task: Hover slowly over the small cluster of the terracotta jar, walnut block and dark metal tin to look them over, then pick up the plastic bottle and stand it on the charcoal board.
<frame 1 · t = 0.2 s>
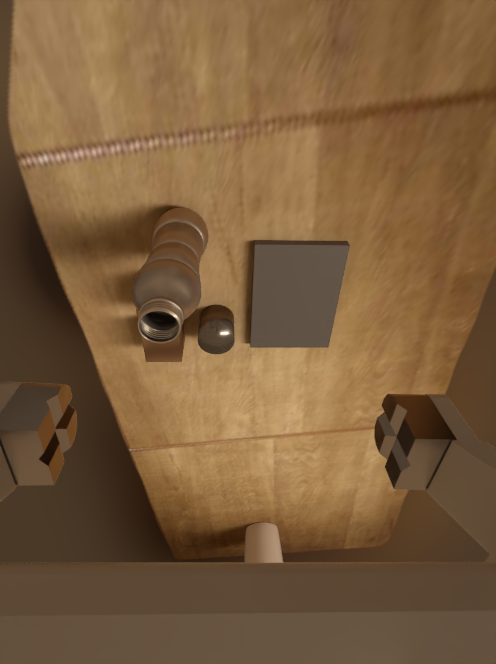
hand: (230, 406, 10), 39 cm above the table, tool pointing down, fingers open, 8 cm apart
candle holder: (261, 528, 99), on the table
charcoal board: (294, 296, 55), on the table
walnut block: (166, 326, 58), on the table
plastic bottle: (182, 227, 48), on the table
dark metal tin: (217, 318, 57), on the table
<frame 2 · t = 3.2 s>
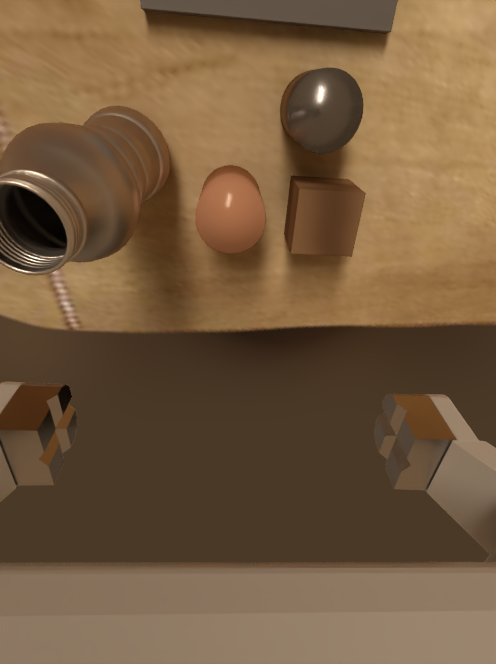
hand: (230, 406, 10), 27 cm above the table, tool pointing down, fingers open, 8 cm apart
terracotta jar: (230, 196, 34), on the table
walnut block: (315, 207, 34), on the table
plastic bottle: (134, 151, 32), on the table
dark metal tin: (312, 108, 30), on the table
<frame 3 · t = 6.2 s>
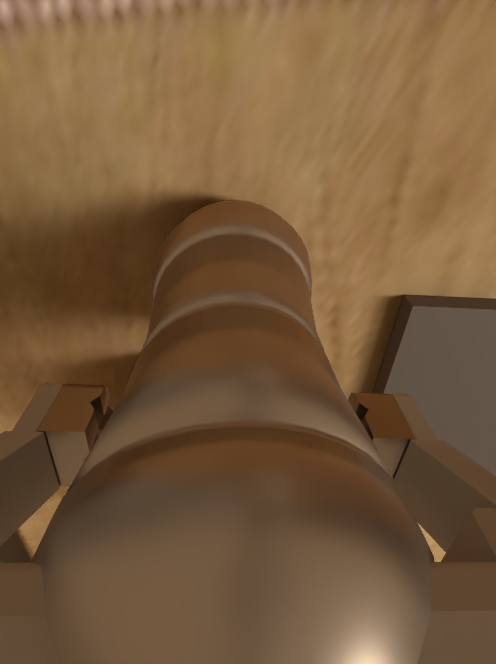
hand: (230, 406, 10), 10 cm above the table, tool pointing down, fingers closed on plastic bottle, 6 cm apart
charcoal board: (456, 416, 25), on the table
plastic bottle: (231, 257, 19), on the table, touching gripper
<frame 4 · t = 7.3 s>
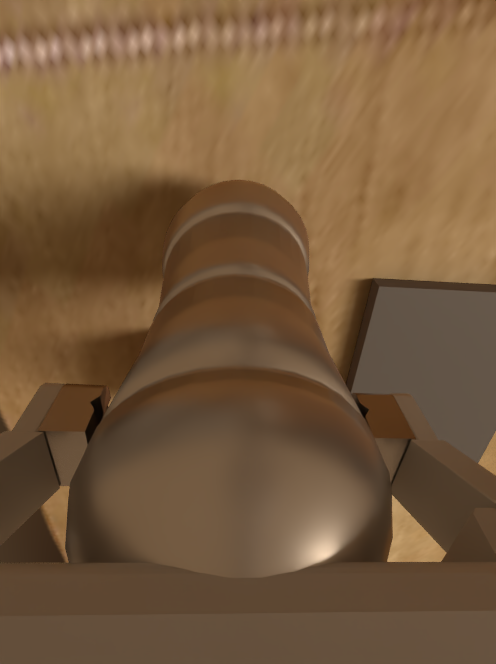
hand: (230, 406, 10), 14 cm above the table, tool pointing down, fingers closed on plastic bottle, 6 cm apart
charcoal board: (424, 388, 29), on the table
plastic bottle: (235, 233, 20), point 2 cm above the table, touching gripper
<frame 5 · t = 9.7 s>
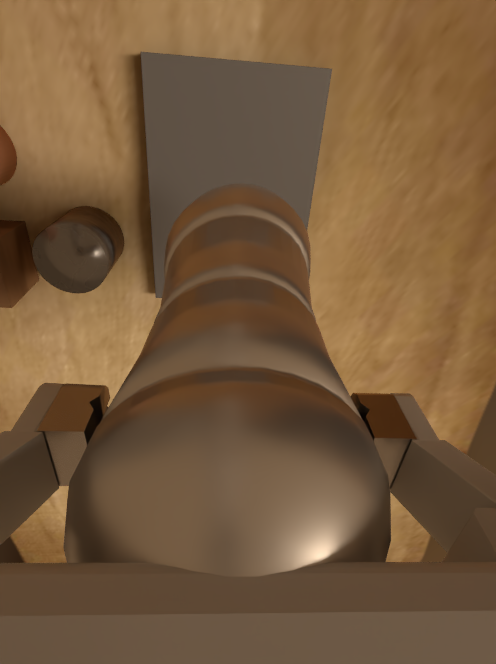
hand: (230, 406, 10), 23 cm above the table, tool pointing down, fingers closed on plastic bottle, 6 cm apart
charcoal board: (231, 195, 30), on the table
walnut block: (0, 250, 32), on the table
plastic bottle: (237, 237, 20), point 11 cm above the table, touching gripper
dark metal tin: (92, 237, 31), on the table
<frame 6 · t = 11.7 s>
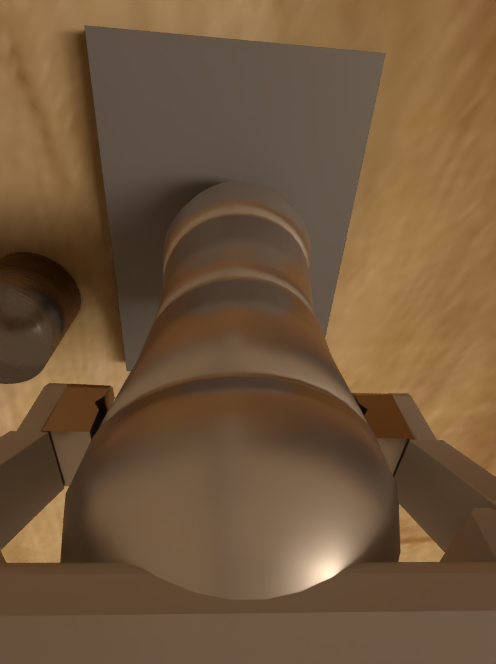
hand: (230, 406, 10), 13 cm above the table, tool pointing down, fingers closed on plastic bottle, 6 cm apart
charcoal board: (229, 237, 21), on the table
plastic bottle: (236, 235, 20), point 1 cm above the table, touching charcoal board, gripper
dark metal tin: (35, 293, 22), on the table
when the fingers open (13 cm above the table, at t = 12.0 s): plastic bottle stays where it is, resting on charcoal board.
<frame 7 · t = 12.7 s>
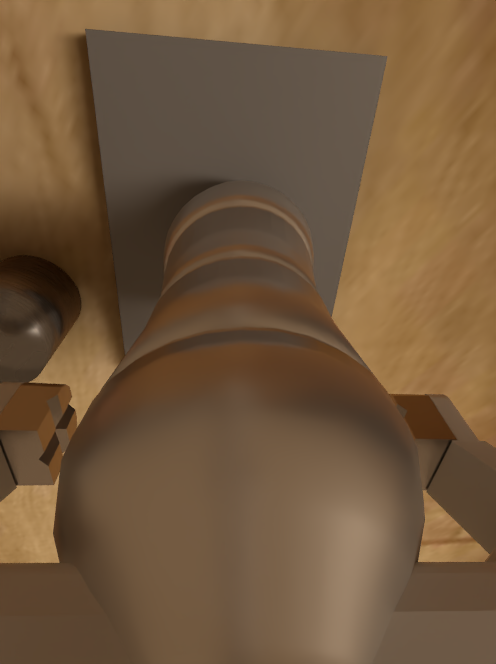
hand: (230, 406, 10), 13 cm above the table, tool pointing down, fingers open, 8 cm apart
charcoal board: (230, 240, 21), on the table
plastic bottle: (237, 238, 20), point 1 cm above the table, touching charcoal board
dark metal tin: (36, 296, 22), on the table
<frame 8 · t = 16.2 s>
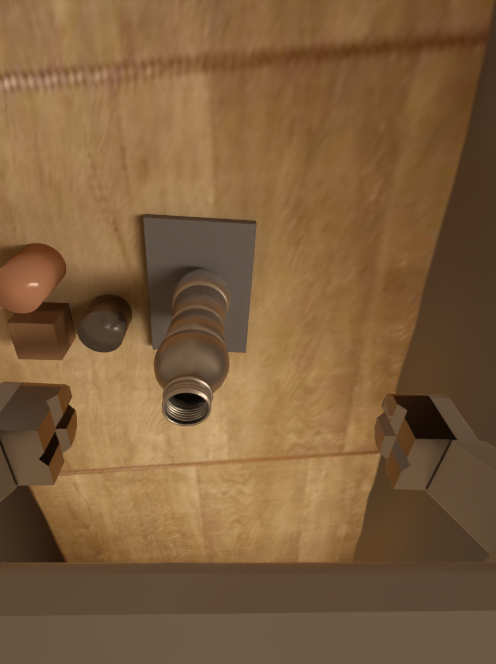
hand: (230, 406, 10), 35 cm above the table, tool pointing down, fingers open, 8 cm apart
terracotta jar: (43, 264, 45), on the table
charcoal board: (200, 287, 47), on the table
walnut block: (52, 319, 49), on the table
plastic bottle: (202, 287, 46), point 1 cm above the table, touching charcoal board
dark metal tin: (111, 312, 48), on the table
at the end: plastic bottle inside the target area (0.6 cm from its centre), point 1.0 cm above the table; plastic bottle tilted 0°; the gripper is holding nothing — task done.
